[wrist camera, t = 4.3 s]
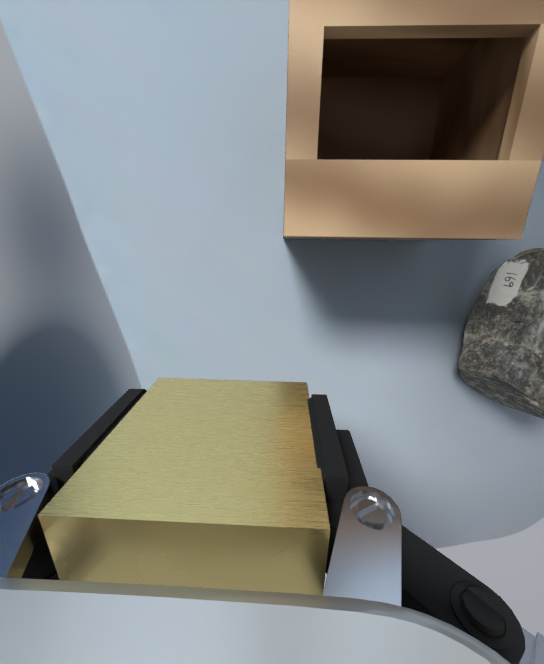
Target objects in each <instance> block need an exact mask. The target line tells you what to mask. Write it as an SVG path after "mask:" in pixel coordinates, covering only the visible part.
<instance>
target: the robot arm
mask: <svg viewBox="0 0 544 664" xmlns="http://www.w3.org/2000/svg"><path fill="white" fill-rule="evenodd" d="M146 392H147V391H146V390H145V389H129V390H128V391H127V392H126V393H125V394H124V395H123V396H122V397H121V398H120V399H119V400H118V401H117V402H116V403H115V404H114V405H113V406H112V407H111V408H110V409H109V410H108V411H107V412H105V414H103V416H101V418H99V419H98V420H97V421H96V422H95V424H93V425H92V426H91V428H89V429H88V430H87V431H86V432H85V433H84V434H83V435H82V436H81V437H80V438H79V439H78V440H77V441H76V442H75V443H74V444H73V445H72V446H71V447H70V448H69V449H68V450H67V451H66V452H65V453H64V454H63V455H62V456H61V457H60V458H59V459H58V460H57V461H56V462H55V463H54V464H53V465H52V467H53V469H52V470H51V471H50V472H49V473H48V474H47V475H45V474H43V473H31V474H26V475H23V476H19V477H17V478H15V479H12V480H10V481H8V482H6V483H5V484H3V485H1V486H0V664H544V636H543V635H541V634H539V633H537V635H536V637H535V636H533V635H532V634H531V633H529V632H527V631H526V630H525V629H524V628H522V627H521V625H520V623H519V621H518V620H517V618H516V616H515V615H514V613H513V612H512V610H511V609H510V608H509V606H508V605H507V604H506V603H505V602H504V601H503V600H502V598H501V597H500V596H498V595H497V594H496V593H495V592H494V591H492V590H491V589H490V588H489V587H488V586H486V585H485V584H483V583H482V582H481V581H479V580H477V579H476V578H475V577H474V576H472V575H471V574H469V573H468V572H467V571H465V570H464V569H462V568H461V567H460V566H458V565H457V564H455V563H454V562H453V561H451V560H450V559H449V558H447V557H446V556H444V555H443V554H442V553H440V552H439V551H437V550H436V549H435V548H433V547H432V546H430V545H429V544H428V543H426V542H425V541H423V540H422V539H421V538H419V537H418V536H416V535H415V534H414V533H412V532H411V531H409V530H408V529H407V528H405V527H404V526H402V519H401V514H400V510H399V509H398V507H397V505H396V503H395V502H394V501H393V500H392V499H391V498H390V497H389V496H388V495H386V494H385V493H384V492H382V491H380V490H378V489H376V488H372V487H368V484H367V481H366V478H365V475H364V472H363V469H362V466H361V463H360V460H359V457H358V454H357V452H356V449H355V446H354V443H353V440H352V437H351V434H350V432H349V431H348V430H336V428H335V424H334V421H333V417H332V413H331V410H330V406H329V402H328V399H327V395H317V394H312V396H311V398H309V399H307V402H308V409H309V416H310V423H311V430H312V436H313V443H314V450H315V457H316V464H317V468H321V474H322V480H323V487H324V493H325V499H326V505H327V512H328V518H329V524H330V537H329V546H328V555H327V563H326V573H327V578H326V582H325V587H324V591H323V596H322V595H309V594H297V593H283V592H266V591H249V590H232V589H216V588H199V587H181V586H163V585H144V584H125V583H106V582H87V581H66V580H59V577H58V574H57V571H56V568H55V565H54V562H53V559H52V556H51V553H50V550H49V547H48V544H47V541H46V538H45V535H44V532H43V529H42V526H41V523H40V520H39V517H38V514H39V513H40V512H41V511H42V510H43V509H44V508H45V506H46V505H47V504H48V503H49V502H50V501H51V500H52V498H53V497H54V496H55V495H56V494H57V493H58V492H59V491H60V489H61V488H62V487H63V486H64V485H65V484H66V483H67V481H68V480H69V479H70V478H71V477H72V476H73V475H74V474H75V472H76V471H77V470H78V469H79V468H80V467H81V466H82V464H83V463H84V462H85V461H86V460H87V459H88V458H89V457H90V455H91V454H92V453H93V452H94V451H95V450H96V449H97V447H98V446H99V445H100V444H101V443H102V442H103V441H104V440H105V438H106V437H107V436H108V435H109V434H110V433H111V432H112V430H113V429H114V428H115V427H116V426H117V425H118V424H119V422H120V421H121V420H122V419H123V418H124V417H125V416H126V415H127V413H128V412H129V411H130V410H131V409H132V408H133V407H134V405H135V404H136V403H137V402H138V401H139V400H140V399H141V398H142V396H143V395H144V394H145V393H146Z"/></svg>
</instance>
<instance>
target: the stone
mask: <svg viewBox="0 0 544 664" xmlns="http://www.w3.org/2000/svg"><path fill="white" fill-rule="evenodd" d="M461 351H462V353H461V356H460V358H459V361H458V368H459V369H460V370H459V375H460V377H461V378H462V379H463V380H464V381H465V383H467V384H469V385H470V386H472V387H473V388H474V389H475V390H477V391H478V392H480V393H481V394H483V395H484V396H486V397H487V398H489V399H491V400H493V401H495V402H497V403H500V404H502V405H505V406H507V407H510V408H515V409H517V410H520V411H523V412H526V413H529V414H531V415H534V416H537V417H540V418H543V419H544V248H536V249H530V250H526V251H523V252H521V253H519V254H518V255H516V256H515V257H514V258H513V259H510V260H508V261H505V262H504V263H503V264H502V265H501V266H499V267H498V268H497V269H496V270H495V271H493V272H492V274H491V276H490V278H489V280H488V281H487V283H486V284H485V286H484V288H483V289H482V291H481V293H480V295H479V297H478V299H477V301H476V303H475V305H474V307H473V308H472V310H471V312H470V314H469V317H468V322H467V325H466V327H465V330H464V339H463V347H462V350H461Z"/></svg>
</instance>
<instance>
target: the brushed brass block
mask: <svg viewBox="0 0 544 664" xmlns="http://www.w3.org/2000/svg"><path fill="white" fill-rule="evenodd" d="M307 399H309V393H308V387H307V383H302V382H272V381H242V380H212V379H182V378H158V379H157V381H156V382H155V383H154V384H153V385H152V386H151V387H150V388H149V390H148V391H147V392H146V393H145V394H144V395H143V396H142V398H141V399H140V400H139V401H138V402H137V403H136V404H135V405H134V407H133V408H132V409H131V410H130V411H129V412H128V413H127V415H126V416H125V417H124V418H123V419H122V420H121V421H120V422H119V424H118V425H117V426H116V427H115V428H114V429H113V430H112V432H111V433H110V434H109V435H108V436H107V437H106V438H105V440H104V441H103V442H102V443H101V444H100V445H99V446H98V447H97V449H96V450H95V451H94V452H93V453H92V454H91V455H90V457H89V458H88V459H87V460H86V461H85V462H84V463H83V464H82V466H81V467H80V468H79V469H78V470H77V471H76V472H75V474H74V475H73V476H72V477H71V478H70V479H69V480H68V481H67V483H66V484H65V485H64V486H63V487H62V488H61V489H60V491H59V492H58V493H57V494H56V495H55V496H54V497H53V498H52V500H51V501H50V502H49V503H48V504H47V505H46V506H45V508H44V509H43V510H42V511H41V512H40V513H39V514H38V517H39V520H40V523H41V526H42V529H43V532H44V535H45V538H46V541H47V544H48V547H49V550H50V553H51V556H52V559H53V562H54V565H55V568H56V571H57V574H58V577H59V580H66V581H87V582H106V583H125V584H144V585H163V586H181V587H199V588H216V589H232V590H249V591H266V592H283V593H297V594H309V595H322V596H323V590H324V581H325V572H326V563H327V555H328V546H329V537H330V524H329V518H328V512H327V505H326V499H325V493H324V487H323V480H322V474H321V468H317V464H316V457H315V450H314V443H313V436H312V430H311V423H310V416H309V409H308V402H307Z"/></svg>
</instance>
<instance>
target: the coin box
mask: <svg viewBox="0 0 544 664" xmlns="http://www.w3.org/2000/svg"><path fill="white" fill-rule="evenodd" d="M543 154H544V0H289V31H288V68H287V109H286V151H285V193H284V234H283V239H356V240H491V239H521V237H522V233H523V230H524V226H525V222H526V218H527V214H528V211H529V207H530V203H531V199H532V196H533V192H534V188H535V184H536V181H537V177H538V173H539V169H540V165H541V162H542V158H543Z"/></svg>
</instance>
